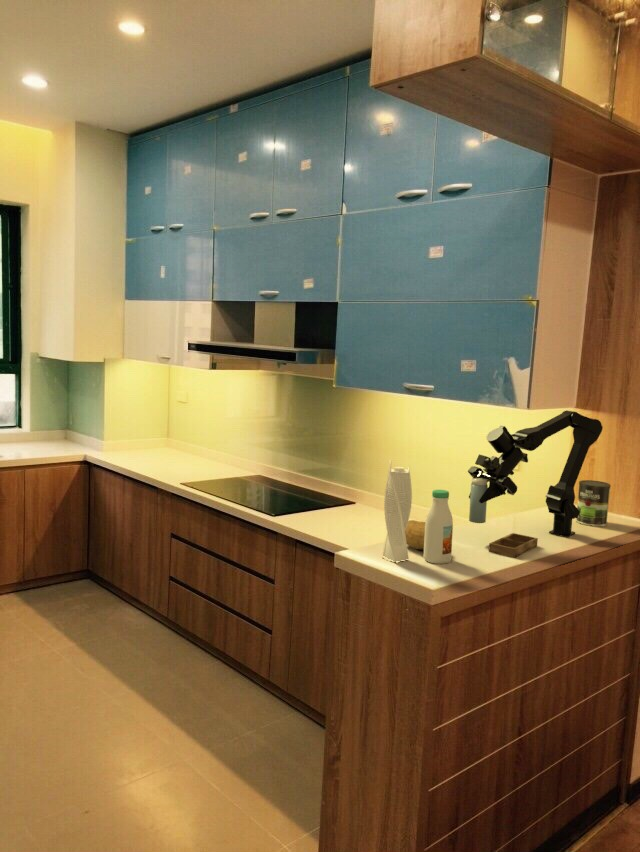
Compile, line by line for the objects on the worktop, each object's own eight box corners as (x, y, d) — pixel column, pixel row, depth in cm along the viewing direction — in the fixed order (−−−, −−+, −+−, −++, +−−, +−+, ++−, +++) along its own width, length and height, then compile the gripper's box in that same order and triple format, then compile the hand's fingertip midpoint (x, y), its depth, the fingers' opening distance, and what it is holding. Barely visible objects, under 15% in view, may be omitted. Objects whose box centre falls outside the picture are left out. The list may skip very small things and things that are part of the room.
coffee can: (601, 528, 243) (604, 487, 241) (571, 522, 250) (574, 482, 248) (611, 522, 251) (615, 483, 249) (582, 517, 257) (585, 478, 256)
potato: (414, 540, 222) (415, 514, 221) (446, 552, 211) (448, 525, 210) (390, 544, 217) (391, 518, 216) (422, 557, 205) (423, 530, 204)
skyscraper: (375, 558, 203) (379, 460, 199) (393, 553, 208) (398, 458, 204) (395, 565, 197) (400, 465, 193) (414, 560, 202) (418, 462, 198)
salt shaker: (472, 518, 224) (474, 477, 222) (487, 520, 221) (490, 479, 220) (466, 521, 220) (468, 479, 218) (482, 524, 217) (484, 482, 215)
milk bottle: (432, 565, 198) (436, 494, 195) (418, 557, 205) (421, 488, 202) (456, 562, 201) (460, 493, 198) (441, 554, 208) (444, 487, 205)
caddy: (512, 540, 224) (512, 532, 224) (537, 546, 219) (537, 538, 219) (488, 551, 212) (489, 543, 212) (514, 557, 207) (515, 549, 207)
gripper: (474, 441, 228) (443, 477, 225) (511, 450, 211) (478, 489, 208) (493, 464, 232) (462, 500, 229) (531, 475, 215) (499, 514, 212)
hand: (474, 500), depth 219 cm, fingers closed on salt shaker, 5 cm apart
